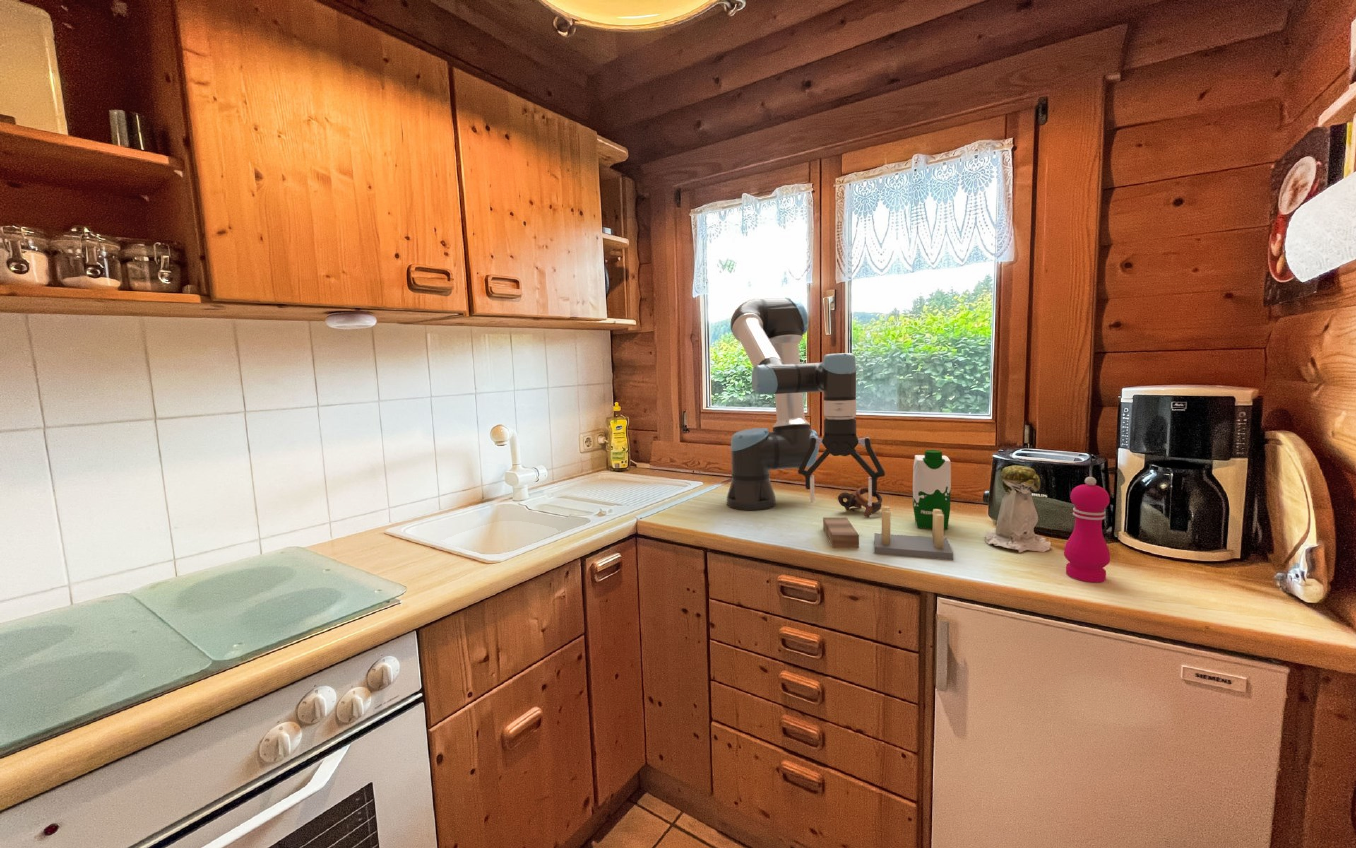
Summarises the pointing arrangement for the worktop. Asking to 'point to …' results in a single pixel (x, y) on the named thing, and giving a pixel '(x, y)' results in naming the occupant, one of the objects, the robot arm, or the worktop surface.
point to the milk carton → (931, 487)
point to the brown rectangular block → (840, 532)
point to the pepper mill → (1088, 534)
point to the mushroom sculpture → (1018, 512)
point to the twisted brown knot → (860, 501)
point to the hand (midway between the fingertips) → (840, 503)
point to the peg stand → (913, 540)
